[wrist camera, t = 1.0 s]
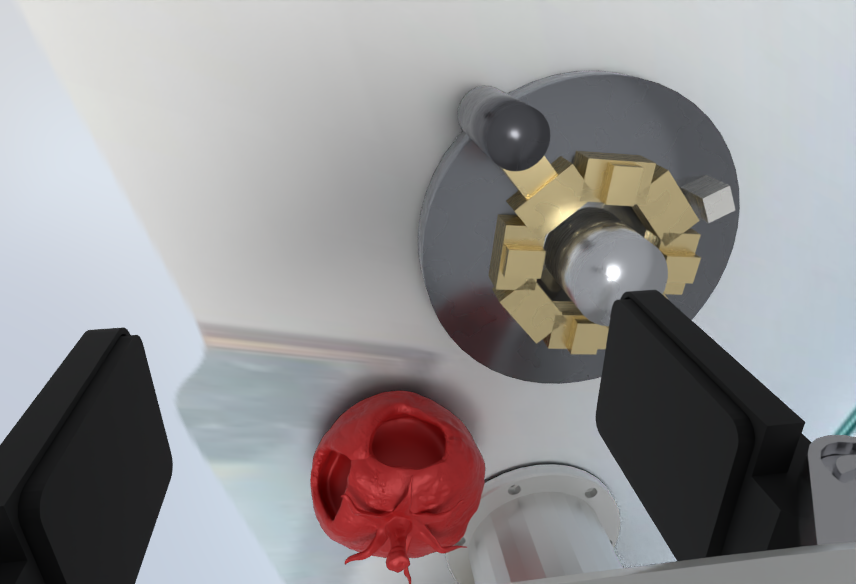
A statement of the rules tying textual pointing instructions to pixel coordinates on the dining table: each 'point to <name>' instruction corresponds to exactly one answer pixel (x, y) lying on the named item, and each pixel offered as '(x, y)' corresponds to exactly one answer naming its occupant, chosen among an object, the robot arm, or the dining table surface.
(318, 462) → the pomegranate
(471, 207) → the dark oval platter
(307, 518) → the dining table surface
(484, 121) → the gold segmented ring
